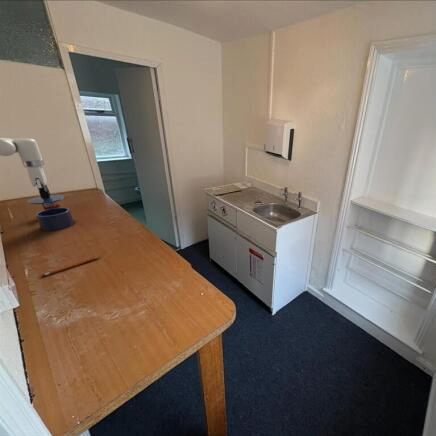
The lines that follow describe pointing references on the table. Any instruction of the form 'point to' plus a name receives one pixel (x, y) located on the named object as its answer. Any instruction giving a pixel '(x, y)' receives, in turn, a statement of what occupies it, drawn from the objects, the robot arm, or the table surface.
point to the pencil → (69, 266)
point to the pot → (55, 218)
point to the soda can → (51, 205)
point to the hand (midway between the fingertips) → (46, 197)
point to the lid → (48, 200)
